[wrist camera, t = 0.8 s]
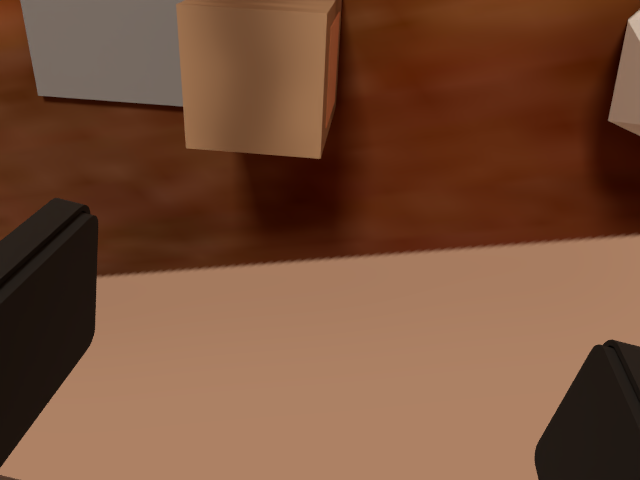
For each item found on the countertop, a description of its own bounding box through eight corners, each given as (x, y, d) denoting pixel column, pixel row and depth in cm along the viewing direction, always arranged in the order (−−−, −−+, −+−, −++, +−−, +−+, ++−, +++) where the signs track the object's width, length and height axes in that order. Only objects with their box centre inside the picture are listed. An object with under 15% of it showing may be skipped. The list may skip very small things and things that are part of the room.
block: (343, -11, 30) (328, 13, 23) (337, 106, 33) (321, 158, 26) (225, -18, 31) (176, 4, 24) (229, 98, 34) (186, 148, 27)
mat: (205, -30, 30) (203, -29, 30) (211, 106, 34) (210, 108, 33) (17, -40, 31) (12, -40, 31) (41, 93, 35) (38, 95, 34)
